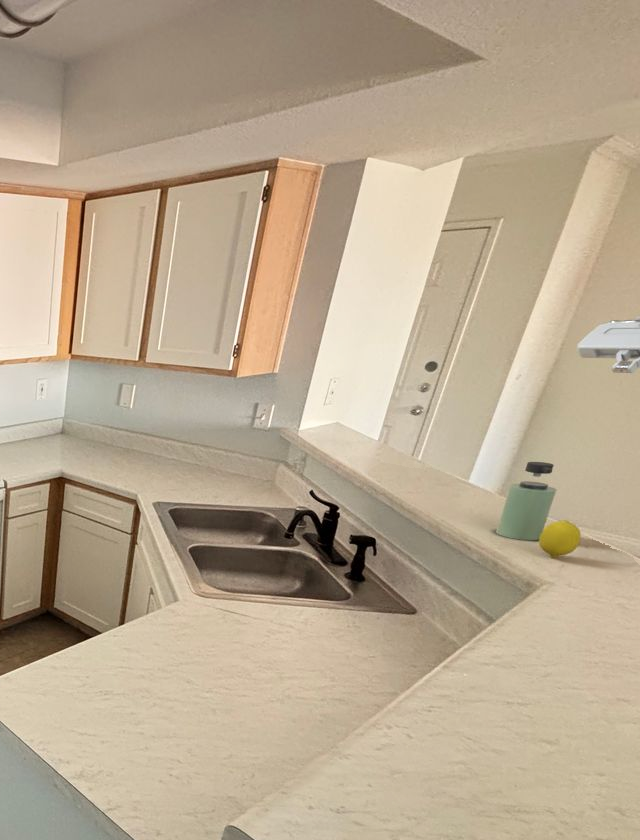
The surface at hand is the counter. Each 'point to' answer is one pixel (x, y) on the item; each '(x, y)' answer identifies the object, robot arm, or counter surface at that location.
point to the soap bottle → (526, 510)
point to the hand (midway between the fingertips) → (621, 370)
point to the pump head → (539, 468)
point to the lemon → (559, 538)
